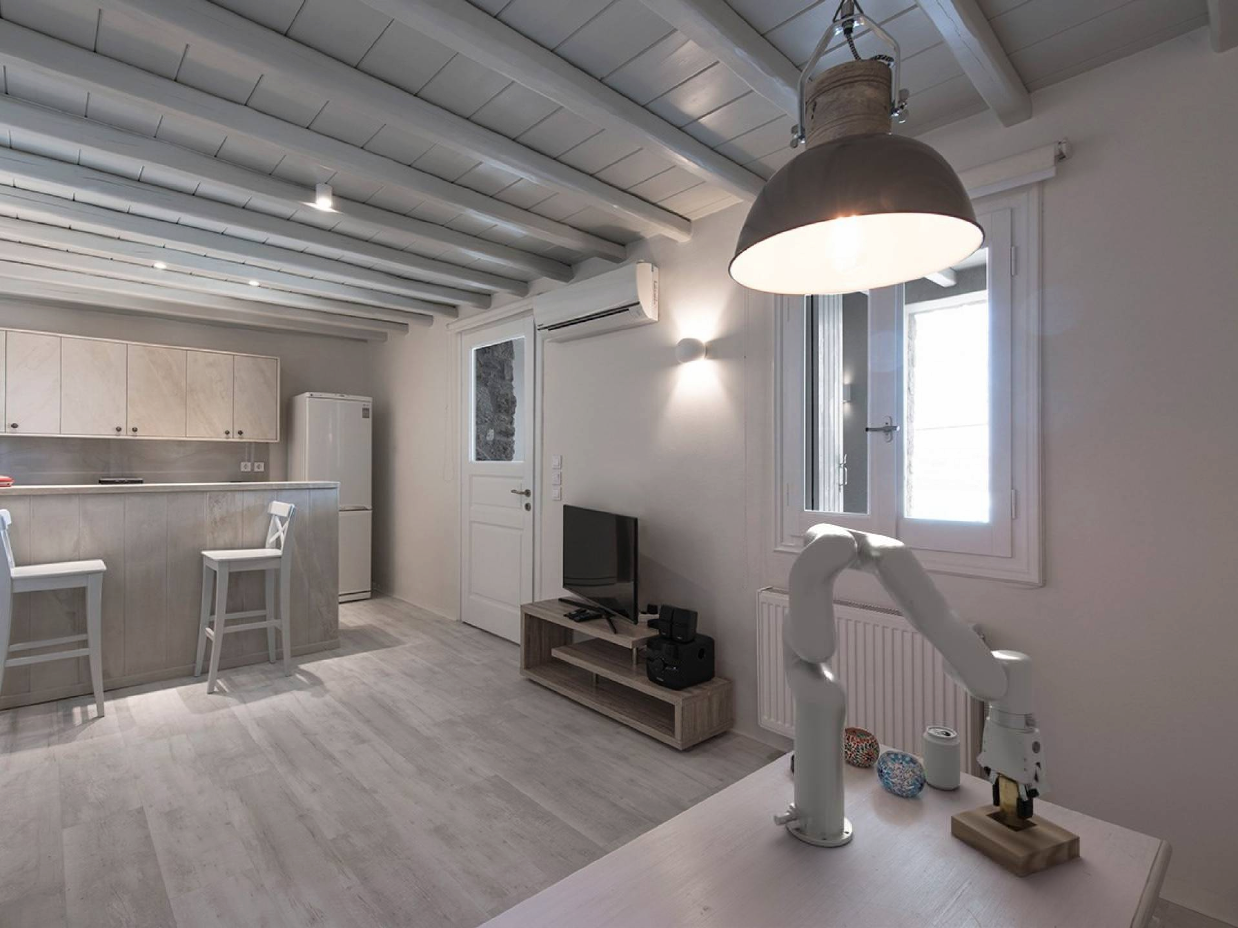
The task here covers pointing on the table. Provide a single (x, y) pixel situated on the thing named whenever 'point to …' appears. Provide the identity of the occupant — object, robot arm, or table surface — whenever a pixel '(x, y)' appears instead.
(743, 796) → the table surface
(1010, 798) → the bushing
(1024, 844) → the block
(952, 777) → the can
